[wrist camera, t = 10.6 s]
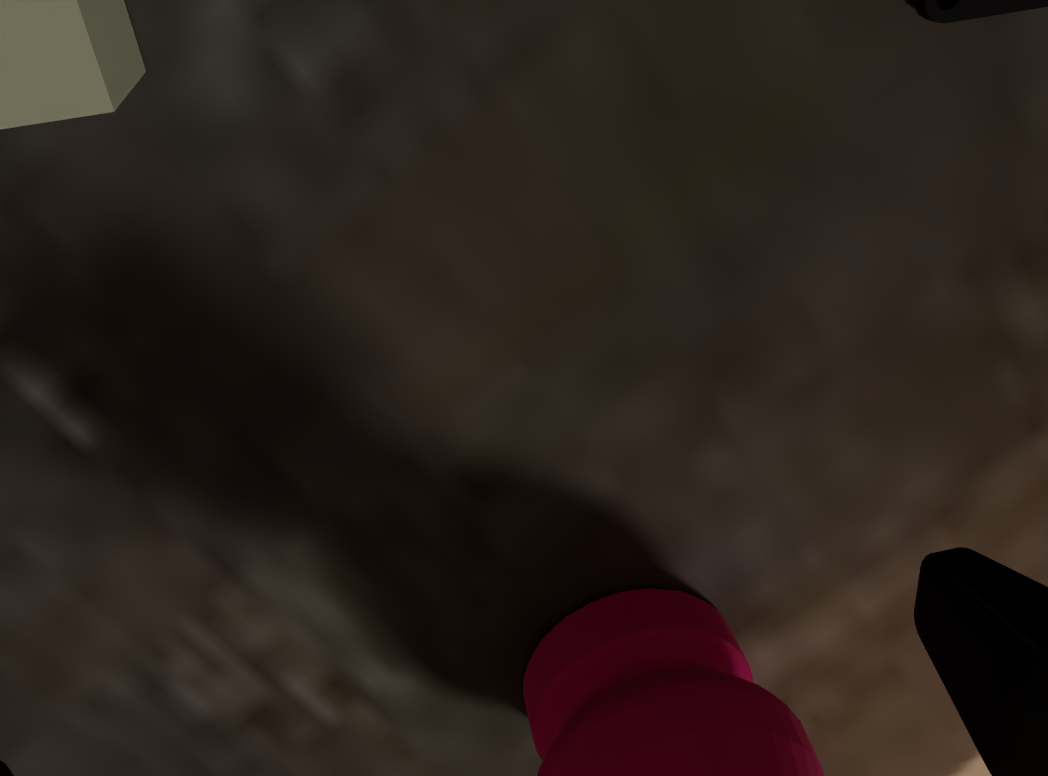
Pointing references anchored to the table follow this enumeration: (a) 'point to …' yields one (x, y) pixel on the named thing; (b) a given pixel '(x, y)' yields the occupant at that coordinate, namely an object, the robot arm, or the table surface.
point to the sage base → (64, 59)
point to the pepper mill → (656, 695)
